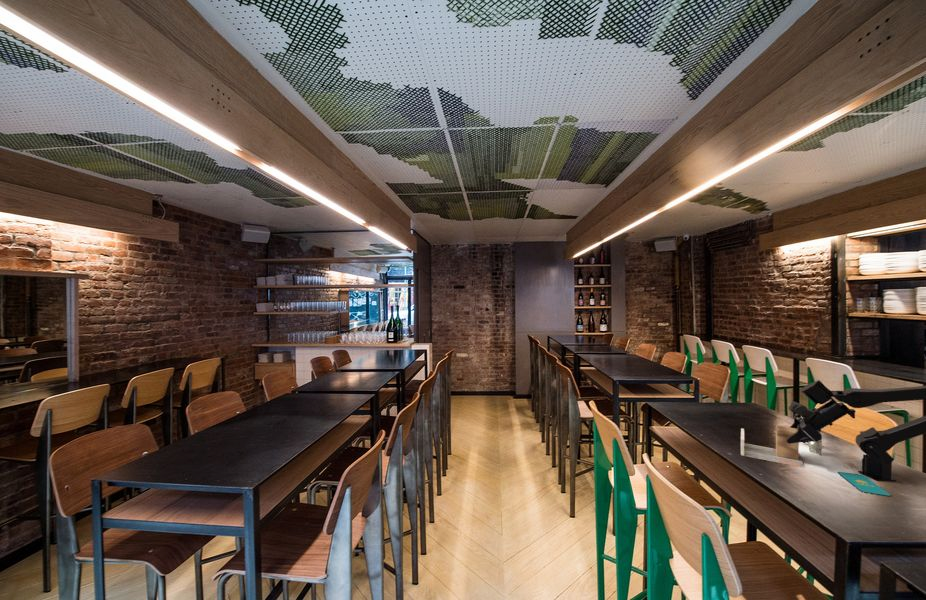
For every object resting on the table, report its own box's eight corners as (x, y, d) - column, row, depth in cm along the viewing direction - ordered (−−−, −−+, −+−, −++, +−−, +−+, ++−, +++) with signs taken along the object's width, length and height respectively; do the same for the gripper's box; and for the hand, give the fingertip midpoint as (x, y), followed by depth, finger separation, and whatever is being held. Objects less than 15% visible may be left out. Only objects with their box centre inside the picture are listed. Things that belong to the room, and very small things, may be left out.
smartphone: (861, 491, 122) (836, 470, 136) (861, 493, 122) (836, 473, 136) (892, 496, 119) (863, 474, 133) (892, 498, 119) (863, 477, 133)
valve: (827, 457, 148) (820, 447, 158) (828, 440, 148) (821, 431, 158) (804, 453, 152) (799, 443, 162) (805, 436, 152) (799, 427, 162)
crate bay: (799, 455, 149) (800, 438, 149) (805, 469, 137) (805, 450, 137) (740, 444, 160) (741, 428, 160) (740, 456, 148) (741, 439, 148)
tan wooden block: (796, 456, 147) (796, 428, 147) (798, 462, 141) (799, 433, 141) (775, 452, 150) (776, 425, 150) (776, 458, 145) (777, 430, 145)
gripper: (802, 390, 150) (765, 414, 157) (809, 401, 135) (768, 426, 142) (830, 415, 146) (791, 438, 152) (840, 428, 131) (796, 453, 137)
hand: (786, 438), depth 146 cm, fingers open, 9 cm apart
